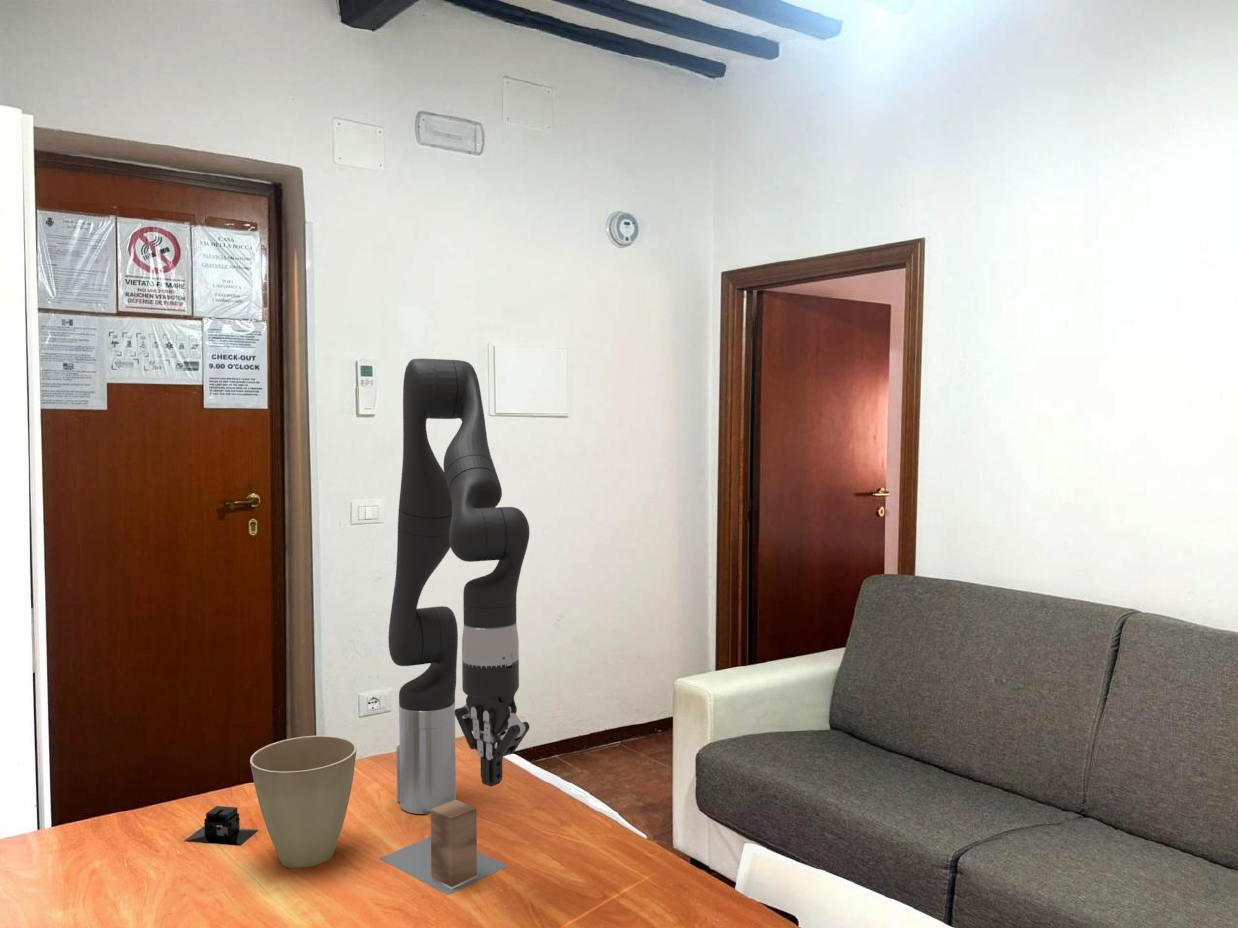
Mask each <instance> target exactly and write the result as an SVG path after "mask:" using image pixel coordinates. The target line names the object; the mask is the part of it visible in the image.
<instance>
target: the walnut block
mask: <svg viewBox="0 0 1238 928" xmlns="http://www.w3.org/2000/svg"><path fill="white" fill-rule="evenodd" d="M477 823H478V822H477V807H474V805H473V806H472V805H470V804H467V803H466V802H463V801H460V800H459V799H456V800H453V801H451V802H448V803H446V804H443V805H441V806H438V807H435V808H433V809H431V813H430V837H431V879H433V880H435V881H437V882H438V883H440V884H442V885H444V886H446V887H448V888H450V889H454V888H456V887H458V886H460V885H462V884H464V883H466V882H468V881H470V880H472V879H474V878H477V849H478V846H477V845H478V843H477V841H478V840H477V838H478V837H477V835H478V834H477V829H478V828H477V826H478V825H477Z"/></svg>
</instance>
